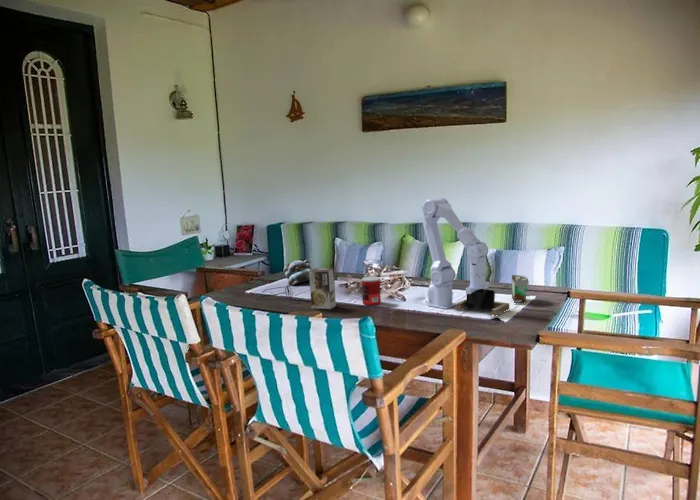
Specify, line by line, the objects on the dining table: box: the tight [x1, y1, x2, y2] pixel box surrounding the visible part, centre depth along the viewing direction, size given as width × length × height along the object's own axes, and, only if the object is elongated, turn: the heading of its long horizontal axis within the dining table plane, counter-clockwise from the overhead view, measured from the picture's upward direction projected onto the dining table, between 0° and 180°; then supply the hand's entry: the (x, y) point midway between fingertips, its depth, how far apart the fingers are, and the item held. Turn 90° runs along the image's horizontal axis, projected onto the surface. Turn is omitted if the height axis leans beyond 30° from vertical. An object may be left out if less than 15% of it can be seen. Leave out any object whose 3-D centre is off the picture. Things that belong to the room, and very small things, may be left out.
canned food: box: [361, 276, 382, 307], centre depth 225 cm, size 8×8×11 cm
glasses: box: [256, 282, 292, 300], centre depth 248 cm, size 14×15×5 cm
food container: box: [511, 274, 530, 304], centre depth 218 cm, size 12×6×10 cm, turn 168°
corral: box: [456, 298, 510, 317], centre depth 208 cm, size 17×11×3 cm, turn 46°
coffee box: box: [309, 267, 337, 310], centre depth 222 cm, size 9×6×16 cm
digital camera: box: [465, 289, 496, 310], centre depth 209 cm, size 10×5×7 cm, turn 68°
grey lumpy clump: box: [283, 258, 312, 287], centre depth 272 cm, size 15×12×14 cm
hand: (477, 308), depth 206 cm, fingers closed
